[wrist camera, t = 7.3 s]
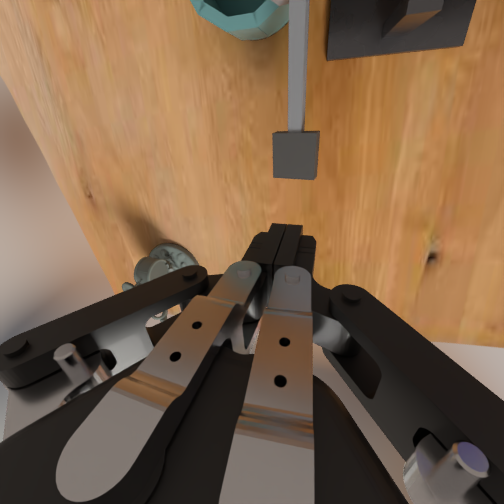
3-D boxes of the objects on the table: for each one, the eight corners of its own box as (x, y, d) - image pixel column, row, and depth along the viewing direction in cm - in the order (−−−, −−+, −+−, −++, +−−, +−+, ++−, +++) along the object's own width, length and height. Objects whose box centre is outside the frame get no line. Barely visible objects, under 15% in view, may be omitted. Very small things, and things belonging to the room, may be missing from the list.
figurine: (159, 283, 53) (121, 326, 44) (145, 240, 48) (97, 278, 38) (204, 290, 51) (175, 337, 41) (195, 244, 45) (158, 287, 35)
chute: (892, -498, 8) (1329, -1009, 4) (535, 175, 20) (569, 197, 16) (292, -183, 17) (260, -265, 13) (288, 165, 28) (271, 178, 25)
